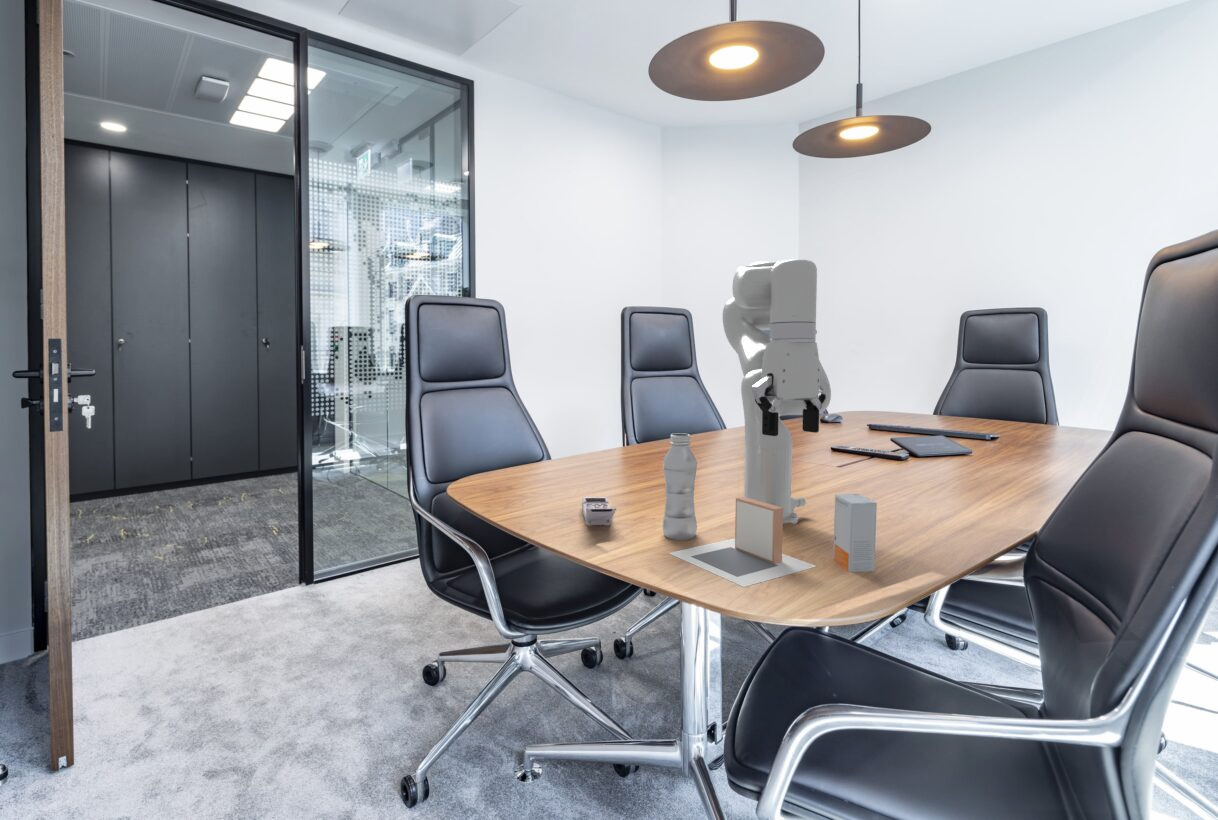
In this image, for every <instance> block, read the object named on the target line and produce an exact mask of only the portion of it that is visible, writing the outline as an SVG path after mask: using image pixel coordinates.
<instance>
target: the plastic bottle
mask: <svg viewBox="0 0 1218 820" xmlns="http://www.w3.org/2000/svg"><path fill="white" fill-rule="evenodd" d="M669 440H670V441H669V445H671V447H670V449H669V450H668V451H667V453H666V454H665V456H664V457H663V461H662V468H663V476H664V483H665V505H664V515H663V519H662V527H661V528H662V533H663V535H664V537H665V538H667V539H670V540H674V541H675V540H676V541H687V540H691V539H694V538H695V537H696V535H697V529H698V522H697V518H696V512H695V511H696V509H695V498H694V497H695V484H696V476H697V468H698V461H697V458H696V456H695V455H694V453H693V451H692V450H691V449H690V445H691V435H690V434H689V433H683V432H682V433H680V432H679V433H678V432H676V433H671V434H670V439H669Z"/></svg>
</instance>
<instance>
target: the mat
mask: <svg viewBox="0 0 1218 820" xmlns="http://www.w3.org/2000/svg"><path fill="white" fill-rule="evenodd" d="M668 554H669V555H672V557H673V556H674V557H676V558H678V559H681V561H682V560H683V561H685V562H687V563H689V564H691V565H693V566H696V567H698V568H700V569H702V570H705V571H707V572H709V573H712V574H714V575H715V576H719V577H721V578H722V579H725V580H726V581H730V582H731V583H734V584H735V585H737V586H741V587H743V588H747V587H750V586H752V585H756V584H760V583H763V582H768V581H770V580H775V579H777V578H781V577H785V576H787V575H788V576H789V575H791V574H796V573H799V572H802V571H803V572H804V571H805V570H809V569H813V568H816V567H818V565H816V564H815V565H814V564H811V563H809V562H806V561H804V560H800V559H798V558H796V557H793V556H790V555H787V554H784V553H782V562H779V563H775V564H774V563H771V562H768V561H766V560H763V559H761V558H758V557H755V556H753V555H750V554H748V553H745V552H742V551H740V550H737V549H735V537H734V538H730V539H725V540H720V541H717V542H712V543H708V544H703V545H698V546H694V547H689V548H686V549H681V550H676V551H672V552H668Z"/></svg>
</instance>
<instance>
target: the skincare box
mask: <svg viewBox="0 0 1218 820" xmlns="http://www.w3.org/2000/svg"><path fill="white" fill-rule="evenodd" d="M834 498H835V499H834V517H833V519H834V520H833V521H834V523H833V524H834V525H833V550H832V551H833V555H832V558H833V561H835V562H836V563H837V564H839V565H840V566H841V567H843V569H844V570H846V571H848V572H849V573H854V572H855V573H857V572H875V566H876V565H875V564H876V563H875V561H876V559H875V557H876V537H877V536H876V533H877V532H876V531H877V508H878V507H877V505H878V504H877V502H876V501H875V500H872V499H870V498H869V497H866V496H863V495H861V494H859V493H840V494H839V493H837V494H835V495H834Z"/></svg>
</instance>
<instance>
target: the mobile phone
mask: <svg viewBox="0 0 1218 820" xmlns="http://www.w3.org/2000/svg"><path fill="white" fill-rule="evenodd" d="M581 502H582V503H581V509H582V513H583V517H584V521H585V525H586V526H587V525H604V526H611V525H612V523H613V518H614V514H615V513H616V511H617V507H615V508H613V507H611V505H610V502H609V501H608V498H607V496H583V497H582V501H581Z"/></svg>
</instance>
